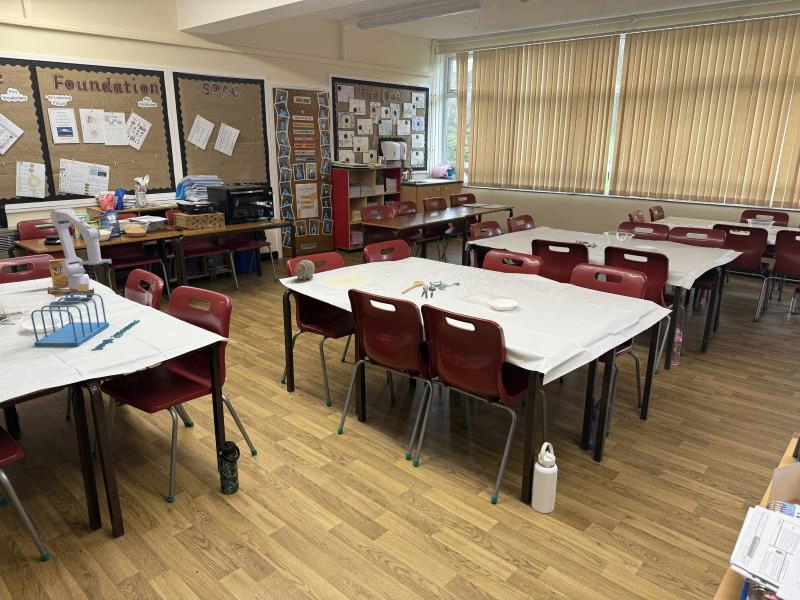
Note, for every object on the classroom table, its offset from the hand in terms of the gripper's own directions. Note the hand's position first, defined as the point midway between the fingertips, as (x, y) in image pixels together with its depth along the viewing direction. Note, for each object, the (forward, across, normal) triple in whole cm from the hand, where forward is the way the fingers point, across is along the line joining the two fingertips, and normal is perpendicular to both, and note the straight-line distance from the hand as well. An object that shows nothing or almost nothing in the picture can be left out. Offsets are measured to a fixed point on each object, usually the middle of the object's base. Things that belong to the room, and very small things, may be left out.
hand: (97, 278), depth 286 cm
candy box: (+11, -17, +35) cm, 40 cm away
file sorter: (+11, -12, -59) cm, 61 cm away
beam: (+8, -13, 0) cm, 15 cm away
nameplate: (+11, +4, -66) cm, 67 cm away
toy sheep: (+11, +108, -10) cm, 109 cm away
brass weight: (+6, -7, 0) cm, 10 cm away
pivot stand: (+10, -12, 0) cm, 16 cm away
